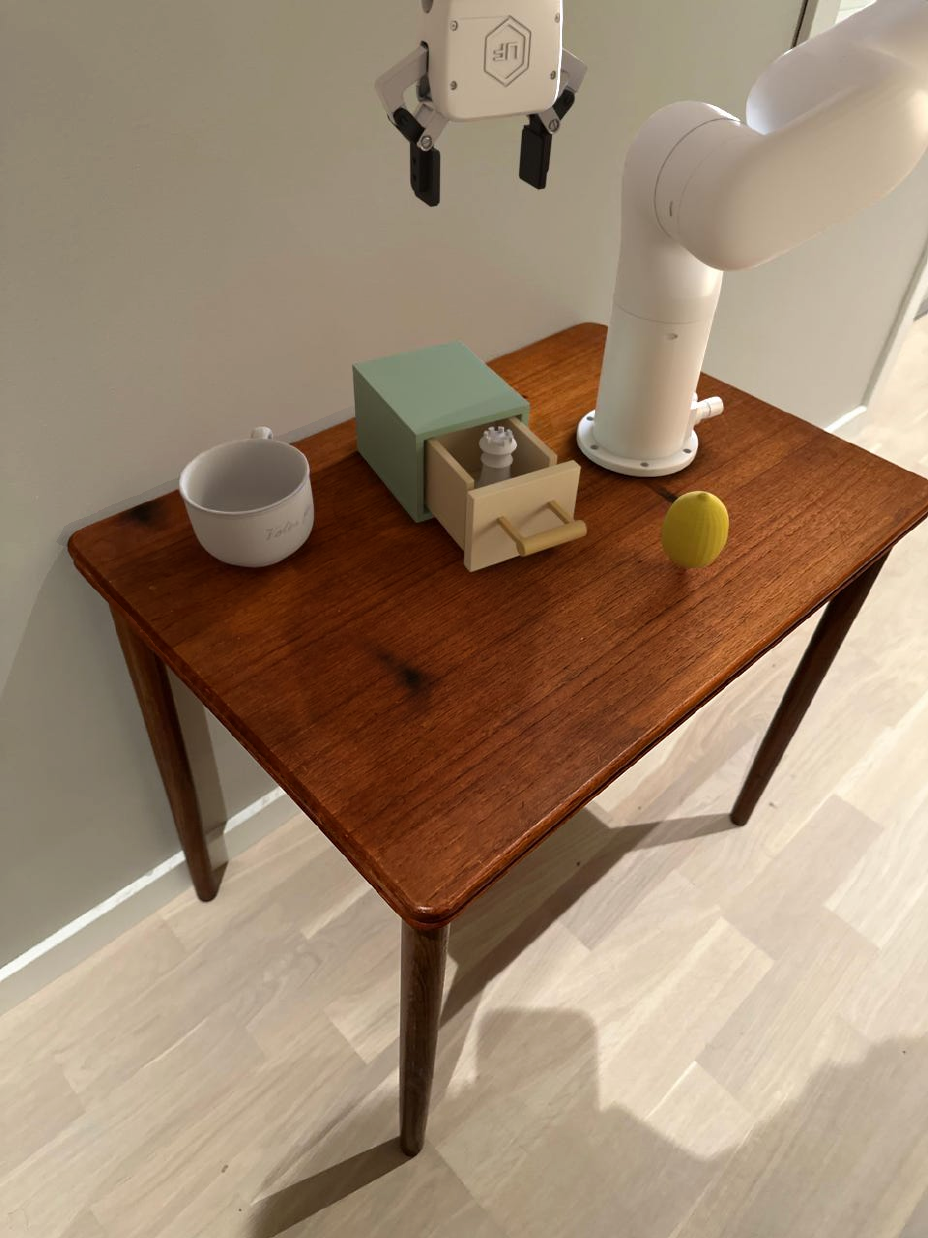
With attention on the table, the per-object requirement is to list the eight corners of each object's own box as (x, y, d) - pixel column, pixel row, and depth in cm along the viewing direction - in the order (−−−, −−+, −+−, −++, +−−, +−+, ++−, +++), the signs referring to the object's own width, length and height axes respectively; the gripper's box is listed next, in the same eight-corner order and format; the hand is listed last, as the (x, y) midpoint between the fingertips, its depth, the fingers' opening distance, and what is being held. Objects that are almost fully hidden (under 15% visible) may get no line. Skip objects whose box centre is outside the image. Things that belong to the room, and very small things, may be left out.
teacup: (293, 594, 73) (283, 518, 68) (173, 573, 75) (153, 498, 69) (342, 498, 83) (337, 425, 78) (235, 482, 85) (222, 409, 79)
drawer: (600, 569, 76) (613, 496, 70) (497, 606, 72) (503, 532, 66) (500, 467, 86) (505, 397, 81) (406, 495, 82) (405, 423, 77)
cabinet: (522, 490, 85) (530, 404, 78) (416, 523, 81) (415, 434, 74) (456, 423, 93) (458, 339, 87) (357, 450, 89) (351, 364, 82)
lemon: (642, 554, 79) (658, 482, 73) (693, 540, 80) (713, 468, 75) (675, 593, 75) (696, 519, 69) (728, 577, 77) (752, 504, 71)
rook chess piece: (480, 490, 82) (484, 415, 76) (524, 502, 80) (532, 427, 75) (461, 516, 79) (464, 440, 73) (506, 530, 77) (513, 453, 72)
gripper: (398, -71, 52) (403, 224, 64) (631, -78, 58) (596, 192, 70) (348, -87, 56) (361, 192, 68) (569, -91, 63) (546, 164, 75)
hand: (480, 192), depth 69 cm, fingers open, 9 cm apart
